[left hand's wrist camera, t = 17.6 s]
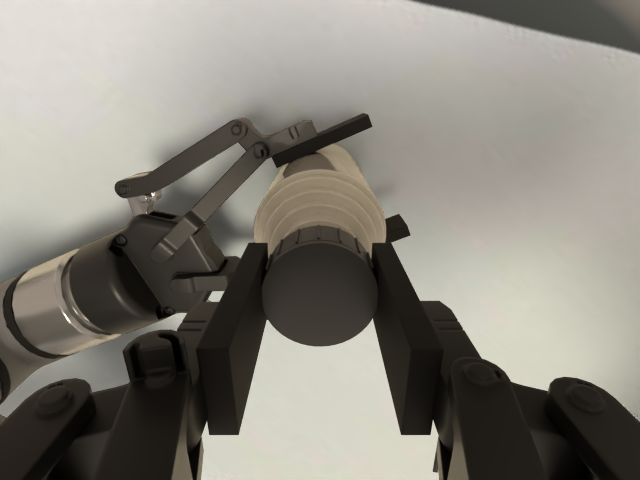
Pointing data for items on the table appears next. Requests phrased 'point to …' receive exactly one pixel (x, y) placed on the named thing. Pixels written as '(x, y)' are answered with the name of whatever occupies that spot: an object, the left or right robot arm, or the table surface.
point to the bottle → (320, 200)
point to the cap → (319, 286)
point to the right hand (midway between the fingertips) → (386, 174)
